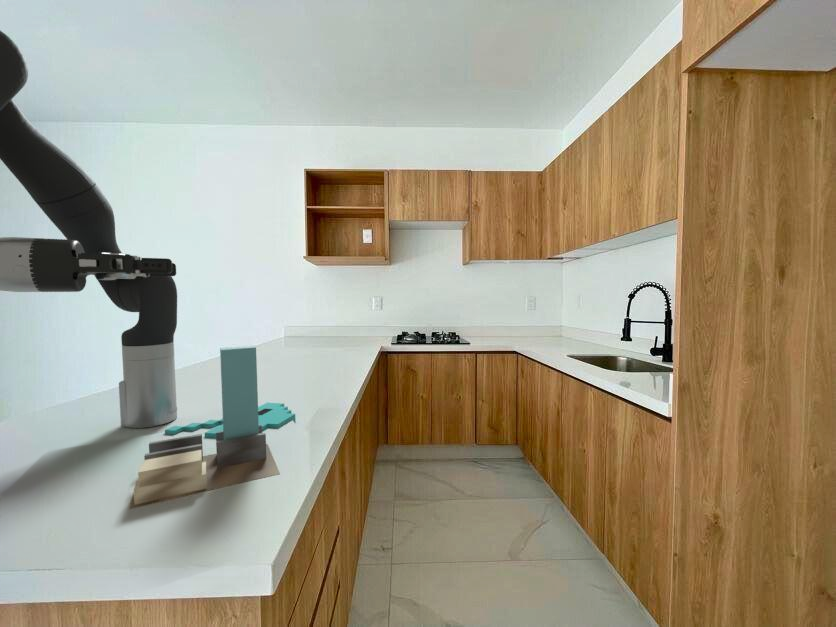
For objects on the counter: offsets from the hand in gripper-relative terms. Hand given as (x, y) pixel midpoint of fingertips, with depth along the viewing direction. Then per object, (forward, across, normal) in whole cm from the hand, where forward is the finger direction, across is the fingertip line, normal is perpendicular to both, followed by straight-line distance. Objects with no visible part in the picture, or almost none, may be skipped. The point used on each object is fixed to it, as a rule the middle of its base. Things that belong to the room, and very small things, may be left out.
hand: (174, 268), depth 61 cm
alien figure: (+11, +15, +33) cm, 37 cm away
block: (+9, -6, +31) cm, 33 cm away
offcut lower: (0, -12, +31) cm, 33 cm away
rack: (+4, -8, +32) cm, 33 cm away
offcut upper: (0, -12, +29) cm, 31 cm away
